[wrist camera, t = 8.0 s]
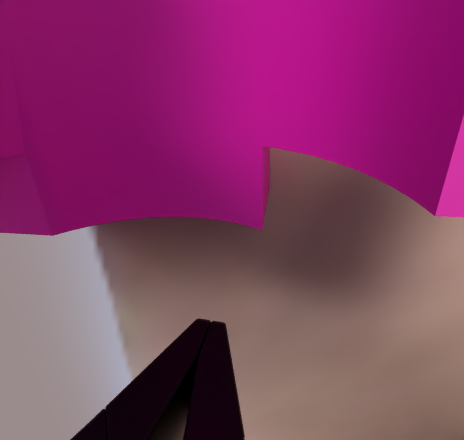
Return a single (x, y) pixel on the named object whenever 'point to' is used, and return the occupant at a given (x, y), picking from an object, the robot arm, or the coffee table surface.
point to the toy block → (221, 104)
